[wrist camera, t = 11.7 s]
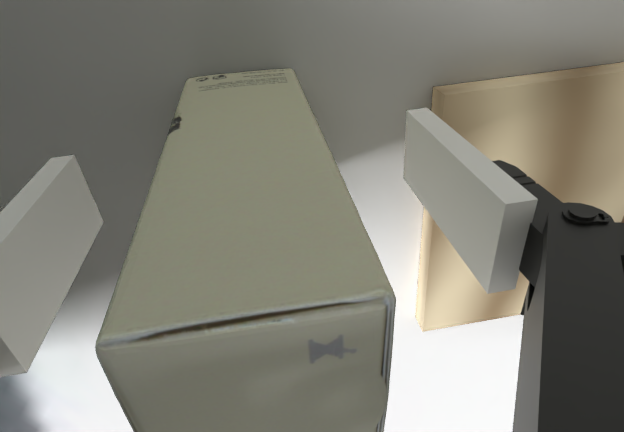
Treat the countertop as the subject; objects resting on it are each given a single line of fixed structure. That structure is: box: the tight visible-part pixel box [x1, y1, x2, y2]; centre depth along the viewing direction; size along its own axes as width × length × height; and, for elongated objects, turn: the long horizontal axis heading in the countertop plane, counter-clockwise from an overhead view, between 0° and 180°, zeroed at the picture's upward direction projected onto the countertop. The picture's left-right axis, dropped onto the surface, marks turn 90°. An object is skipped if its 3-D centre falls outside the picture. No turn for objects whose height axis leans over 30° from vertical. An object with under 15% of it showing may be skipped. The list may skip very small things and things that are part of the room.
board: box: [415, 62, 624, 332], centre depth 21 cm, size 17×14×1 cm
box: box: [96, 68, 396, 432], centre depth 12 cm, size 5×4×13 cm
